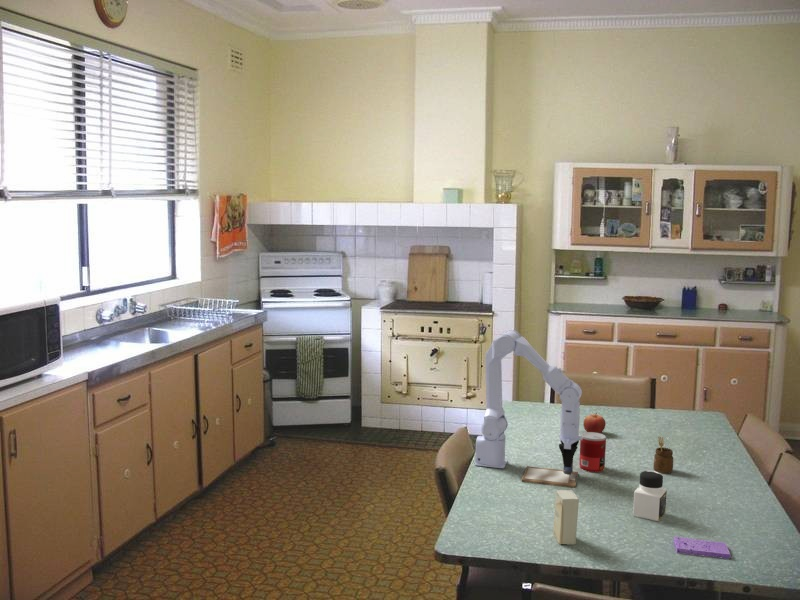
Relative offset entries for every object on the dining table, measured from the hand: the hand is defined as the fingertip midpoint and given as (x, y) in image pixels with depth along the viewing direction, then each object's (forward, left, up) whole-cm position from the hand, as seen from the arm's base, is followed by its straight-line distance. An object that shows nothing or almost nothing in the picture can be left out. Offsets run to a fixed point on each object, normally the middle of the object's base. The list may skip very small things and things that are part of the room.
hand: (568, 464), depth 248 cm
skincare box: (+3, -49, -4) cm, 49 cm away
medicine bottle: (+24, -25, -4) cm, 35 cm away
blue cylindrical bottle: (0, 0, -3) cm, 3 cm away
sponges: (+36, -44, -4) cm, 57 cm away
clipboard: (-5, -4, -3) cm, 7 cm away
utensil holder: (+29, +14, -4) cm, 32 cm away
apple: (+6, +49, -4) cm, 50 cm away
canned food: (+7, +9, -4) cm, 12 cm away
